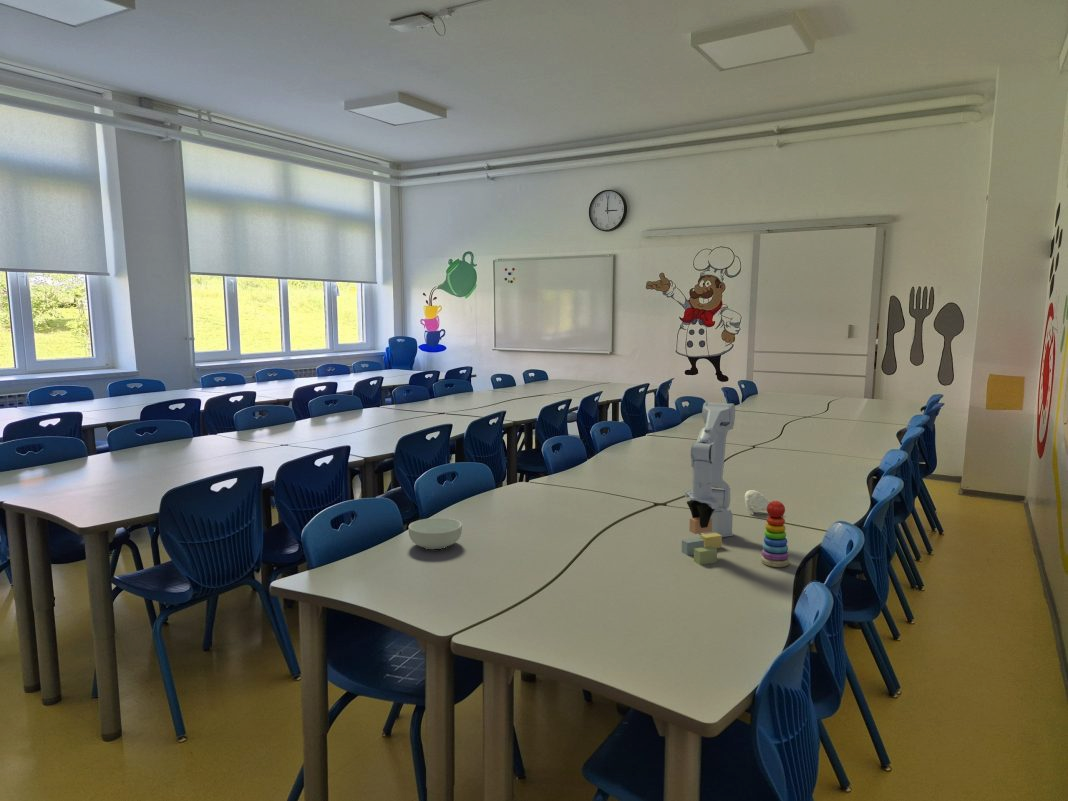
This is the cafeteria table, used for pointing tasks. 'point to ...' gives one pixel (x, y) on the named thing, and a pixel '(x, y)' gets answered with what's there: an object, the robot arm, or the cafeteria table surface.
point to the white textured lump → (755, 501)
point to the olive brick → (705, 555)
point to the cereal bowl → (435, 532)
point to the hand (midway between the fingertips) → (700, 525)
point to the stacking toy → (775, 537)
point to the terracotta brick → (697, 528)
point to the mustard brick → (712, 540)
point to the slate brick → (691, 545)
